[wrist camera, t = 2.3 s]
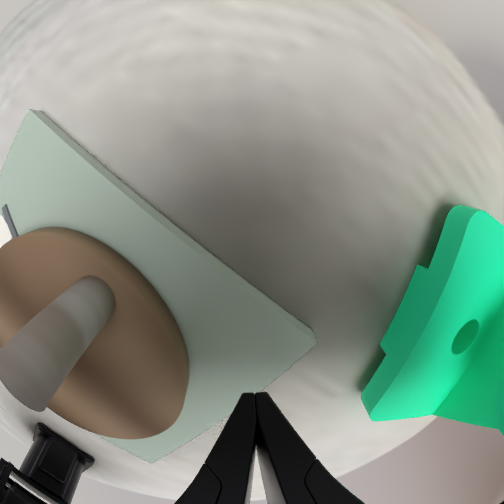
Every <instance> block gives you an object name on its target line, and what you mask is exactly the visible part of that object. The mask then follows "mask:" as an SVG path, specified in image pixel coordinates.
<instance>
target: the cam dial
mask: <svg viewBox="0 0 504 504" xmlns="http://www.w3.org/2000/svg"><path fill="white" fill-rule="evenodd" d="M189 375H190V374H189V358H188V353H187V348H186V345H185V342H184V339H183V336H182V333H181V331H180V329H179V327H178V324H177V322H176V320H175V318H174V316H173V315H172V313H171V312H170V310H169V308H168V307H167V305H166V303H165V302H164V300H163V299H162V298H161V297H160V295H159V294H158V292H157V291H156V290H155V288H154V287H153V286H152V285H151V284H150V283H149V282H148V280H147V279H146V278H145V277H144V276H143V275H142V274H141V273H140V272H139V271H138V270H137V269H136V268H135V267H134V266H133V265H132V264H131V263H129V262H128V261H127V260H126V259H125V258H124V257H122V256H121V255H120V254H118V253H117V252H116V251H114V250H113V249H112V248H110V247H109V246H107V245H105V244H104V243H102V242H100V241H99V240H97V239H95V238H93V237H91V236H89V235H86V234H84V233H82V232H79V231H75V230H71V229H68V228H61V227H45V228H39V229H36V230H33V231H30V232H28V233H25V234H23V235H20V236H18V237H16V238H13V239H11V240H10V241H8V242H7V243H5V244H4V245H3V246H2V247H1V248H0V380H1V381H2V383H3V384H4V386H5V387H6V388H7V389H8V390H9V392H10V393H11V394H12V395H13V396H14V397H15V398H16V399H17V400H19V401H20V402H21V403H22V404H24V405H25V406H27V407H28V408H30V409H32V410H35V411H39V412H42V411H44V410H45V408H46V407H48V408H49V409H51V410H52V411H53V412H55V413H56V414H58V415H59V416H61V417H62V418H64V419H65V420H67V421H69V422H71V423H73V424H74V425H76V426H78V427H81V428H83V429H85V430H88V431H90V432H93V433H96V434H99V435H103V436H107V437H111V438H118V439H143V438H148V437H152V436H155V435H158V434H160V433H162V432H164V431H165V430H167V429H168V428H170V427H171V426H172V425H173V424H174V423H175V422H176V420H177V419H178V417H179V416H180V414H181V411H182V409H183V406H184V401H185V396H186V391H187V387H188V381H189Z"/></svg>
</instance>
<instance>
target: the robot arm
mask: <svg viewBox="0 0 504 504" xmlns="http://www.w3.org/2000/svg"><path fill="white" fill-rule="evenodd" d="M33 441H34V443H33V444H32V446H31V448H30V450H29V452H28V454H27V456H26V458H25V459H24V461H23V463H22V465H21V467H20V469H19V470H18V469H16V468H15V467H14V465H13V464H11V463H10V462H7V461H5V460H4V459H3V458H1V459H0V504H47V503H45V502H44V501H42V500H41V499H39V498H38V497H36V496H35V495H33V494H32V493H30V492H29V491H27V490H26V489H25V488H23V487H22V486H20V485H19V484H18V483H16V482H14V481H13V480H12V479H10V478H9V475H11V476H13V477H14V478H15V479H17V480H18V481H19V482H20V483H22V484H23V485H25V486H26V487H27V488H29V489H30V490H32V491H33V492H35V493H36V494H37V495H39V496H41V497H42V498H43V499H45V500H47V501H48V502H50V503H51V504H71V501H72V498H73V495H74V492H75V490H76V487H77V484H78V482H79V479H80V476H81V474H82V472H84V471H85V470H86V469H88V468H89V467H90V466H92V465H93V464H94V459H92V458H91V457H89V456H87V455H86V454H84V453H82V452H81V451H79V450H77V449H76V448H74V447H73V446H71V445H70V444H68V443H67V442H65V441H64V440H62V439H61V438H59V437H58V436H57V435H55V434H54V433H52V432H51V431H50V430H48V429H47V428H46V427H44V426H43V425H42V424H40V423H38V424H37V425H36V428H35V432H34V436H33ZM256 449H257V455H258V460H259V465H260V470H261V475H262V480H263V484H264V489H265V494H266V498H267V502H268V504H365V503H363V502H362V501H361V500H360V499H358V498H357V497H356V496H355V495H353V494H352V493H351V492H350V491H349V490H347V489H346V488H345V487H344V486H343V485H342V484H341V483H339V482H338V481H337V480H336V479H335V478H334V477H333V476H332V475H331V474H330V473H329V472H328V471H327V469H326V468H325V467H324V466H323V465H322V464H321V462H320V461H319V460H318V459H316V456H315V455H314V454H313V453H312V451H311V450H310V449H309V448H308V446H307V445H306V444H305V443H304V441H303V440H302V439H301V437H300V436H299V435H298V433H297V432H296V431H295V430H294V428H293V427H292V426H291V424H290V423H289V422H288V420H287V419H286V418H285V416H284V415H283V414H282V412H281V411H280V409H279V408H278V407H277V405H276V404H275V403H274V401H273V400H272V398H271V397H270V396H269V394H268V393H267V392H256V393H255V394H254V393H253V392H244V393H242V394H241V396H240V398H239V400H238V402H237V404H236V406H235V408H234V410H233V412H232V413H231V415H230V417H229V419H228V421H227V423H226V425H225V427H224V428H223V430H222V432H221V434H220V436H219V438H218V439H217V441H216V443H215V445H214V447H213V448H212V450H211V452H210V454H209V455H208V457H207V459H206V461H205V464H203V466H202V467H201V469H200V471H199V472H198V474H197V475H196V477H195V478H194V480H193V482H192V483H191V484H190V486H189V487H188V488H187V489H186V491H185V492H184V493H183V494H182V495H181V497H180V498H179V499H178V500H177V501H176V502H175V503H174V504H250V497H251V488H252V480H253V471H254V462H255V451H256ZM6 485H7V486H8V487H7V486H6ZM9 487H10V488H9ZM500 504H504V500H503V501H502V502H501V503H500Z"/></svg>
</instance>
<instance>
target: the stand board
mask: <svg viewBox="0 0 504 504" xmlns="http://www.w3.org/2000/svg"><path fill="white" fill-rule="evenodd" d="M45 227H61V228H68V229H71V230H75V231H79V232H82V233H84V234H86V235H89V236H91V237H93V238H95V239H97V240H99V241H100V242H102V243H104V244H105V245H107V246H109V247H110V248H112V249H113V250H114V251H116V252H117V253H118V254H120V255H121V256H122V257H124V258H125V259H126V260H127V261H128V262H129V263H131V264H132V265H133V266H134V267H135V268H136V269H137V270H138V271H139V272H140V273H141V274H142V275H143V276H144V277H145V278H146V279H147V280H148V282H149V283H150V284H151V285H152V286H153V287H154V288H155V290H156V291H157V292H158V294H159V295H160V297H161V298H162V299H163V300H164V302H165V303H166V305H167V307H168V308H169V310H170V312H171V313H172V315H173V316H174V318H175V320H176V322H177V324H178V327H179V329H180V331H181V333H182V336H183V339H184V342H185V345H186V348H187V353H188V358H189V374H190V375H189V381H188V387H187V391H186V396H185V401H184V406H183V409H182V411H181V414H180V416H179V417H178V419H177V420H176V422H175V423H174V424H173V425H172V426H171V427H170V428H168V429H167V430H165V431H164V432H162V433H160V434H158V435H155V436H152V437H148V438H143V439H118V438H111V437H107V436H103V435H99V434H97V435H99V436H100V437H102V438H104V439H105V440H107V441H109V442H110V443H112V444H114V445H116V446H117V447H119V448H121V449H123V450H125V451H127V452H129V453H131V454H133V455H135V456H137V457H139V458H141V459H143V460H145V461H147V462H149V463H153V462H155V461H157V460H158V459H160V458H162V457H164V456H166V455H167V454H169V453H171V452H172V451H174V450H176V449H177V448H179V447H181V446H182V445H184V444H186V443H187V442H189V441H191V440H192V439H194V438H195V437H197V436H198V435H200V434H202V433H203V432H205V431H206V430H208V429H209V428H211V427H212V426H214V425H215V424H217V423H218V422H219V421H221V420H222V419H224V418H225V417H227V416H228V415H229V414H231V413H232V412H233V410H234V408H235V406H236V404H237V402H238V400H239V398H240V396H241V394H242V393H244V392H253V393H254V394H255V393H256V392H260V391H262V390H263V389H264V388H265V387H267V386H268V385H269V384H270V383H272V382H273V381H274V380H275V379H277V378H278V377H279V376H280V375H281V374H283V373H284V372H285V371H286V370H287V369H288V368H290V367H291V366H292V365H293V364H294V363H295V362H297V361H298V360H299V359H300V358H301V357H302V356H303V355H305V354H306V353H307V352H308V351H309V350H310V349H311V348H312V347H313V346H315V345H316V344H317V343H318V342H317V340H316V337H315V335H314V333H313V330H311V329H310V328H308V327H307V326H306V325H304V324H303V323H302V322H300V321H299V320H298V319H296V318H295V317H294V316H292V315H291V314H290V313H288V312H287V311H285V310H284V309H283V308H281V307H280V306H279V305H277V304H276V303H275V302H273V301H272V300H271V299H269V298H268V297H267V296H266V295H264V294H263V293H262V292H260V291H259V290H258V289H256V288H255V287H254V286H252V285H251V284H250V283H248V282H247V281H246V280H244V279H243V278H242V277H241V276H239V275H238V274H237V273H235V272H234V271H233V270H231V269H230V268H229V267H228V266H226V265H225V264H224V263H222V262H221V261H220V260H219V259H217V258H216V257H215V256H213V255H212V254H211V253H210V252H208V251H207V250H206V249H205V248H203V247H202V246H201V245H200V244H198V243H197V242H196V241H194V240H193V239H192V238H191V237H189V236H188V235H187V234H186V233H184V232H183V231H182V230H181V229H179V228H178V227H177V226H176V225H174V224H173V223H172V222H171V221H169V220H168V219H167V218H166V217H165V216H163V215H162V214H161V213H160V212H158V211H157V210H156V209H155V208H153V207H152V206H151V205H150V204H149V203H147V202H146V201H145V200H144V199H143V198H141V197H140V196H139V195H138V194H136V193H135V192H134V191H133V190H132V189H130V188H129V187H128V186H127V185H126V184H124V183H123V182H122V181H121V180H120V179H118V178H117V177H116V176H115V175H114V174H113V173H111V172H110V171H109V170H108V169H107V168H105V167H104V166H103V165H102V164H101V163H100V162H98V161H97V160H96V159H95V158H94V157H93V156H91V155H90V154H89V153H88V152H87V151H86V150H85V149H83V148H82V147H81V146H80V145H79V144H78V143H76V142H75V141H74V140H73V139H72V138H71V137H70V136H68V135H67V134H66V133H65V132H64V131H63V130H62V129H61V128H59V127H58V126H57V125H56V124H55V123H54V122H53V121H52V120H51V119H49V118H48V117H47V116H46V115H45V114H44V113H43V112H42V111H37V110H32V109H29V111H28V113H27V114H26V116H25V118H24V120H23V122H22V124H21V126H20V128H19V130H18V132H17V134H16V137H15V139H14V141H13V143H12V145H11V148H10V150H9V152H8V155H7V157H6V160H5V162H4V165H3V168H2V170H1V173H0V248H1V247H2V246H3V245H4V244H5V243H7V242H8V241H10V240H11V239H13V238H16V237H18V236H20V235H23V234H25V233H28V232H30V231H33V230H36V229H39V228H45ZM95 434H96V433H95Z"/></svg>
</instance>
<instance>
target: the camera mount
mask: <svg viewBox="0 0 504 504" xmlns="http://www.w3.org/2000/svg"><path fill="white" fill-rule="evenodd" d="M379 345H380V346H381V348H382V349H383V350H384V352H385V353H386V356H385V358H384V359H383V361H382V362H381V364H380V366H379V367H378V369H377V371H376V372H375V374H374V375H373V377H372V378H371V380H370V381H369V383H368V385H367V386H366V388H365V389H364V390H363V392H362V394H361V400H362V402H363V404H364V406H365V408H366V410H367V412H368V415H369V417H370V419H371V420H373V421H387V420H397V419H406V418H414V417H421V416H427V415H436V416H440V417H444V418H447V419H452V420H456V421H460V422H465V423H469V424H474V425H479V426H484V427H490V428H495V429H499V430H500V432H501V433H502V434H503V435H504V226H503V225H502V224H500V223H499V222H498V221H497V220H495V219H494V218H493V217H492V216H490V215H489V214H488V213H486V212H485V211H482V210H479V209H475V208H471V207H468V206H464V205H456V206H454V207H453V208H452V209H451V210H450V212H449V213H448V215H447V217H446V220H445V223H444V227H443V230H442V233H441V236H440V239H439V242H438V244H437V247H436V250H435V253H434V255H433V258H432V261H431V263H430V266H429V268H426V267H423V266H420V265H418V264H417V266H416V269H415V271H414V274H413V276H412V279H411V281H410V283H409V286H408V288H407V290H406V292H405V295H404V297H403V299H402V301H401V303H400V305H399V308H398V310H397V312H396V314H395V316H394V318H393V320H392V322H391V324H390V326H389V328H388V330H387V331H386V333H385V335H384V337H383V339H382V341H381V343H380V344H379Z"/></svg>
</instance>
